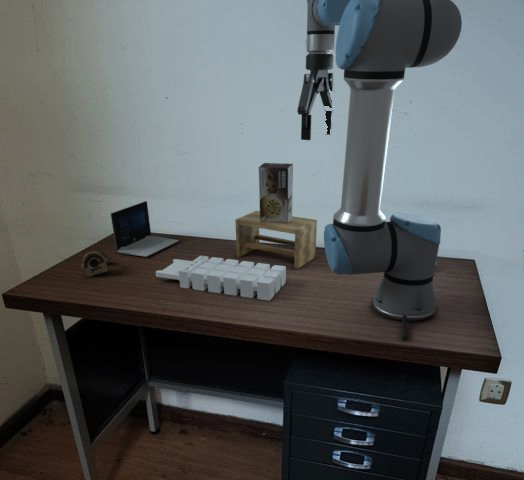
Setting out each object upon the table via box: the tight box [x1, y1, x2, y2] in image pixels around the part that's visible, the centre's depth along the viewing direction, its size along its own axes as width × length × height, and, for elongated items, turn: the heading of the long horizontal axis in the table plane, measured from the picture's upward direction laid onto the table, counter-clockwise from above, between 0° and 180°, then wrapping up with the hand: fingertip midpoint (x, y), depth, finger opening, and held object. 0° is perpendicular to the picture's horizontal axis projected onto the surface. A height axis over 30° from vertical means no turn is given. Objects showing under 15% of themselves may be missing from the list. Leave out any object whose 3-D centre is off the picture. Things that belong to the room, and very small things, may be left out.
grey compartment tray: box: [155, 255, 287, 301], centre depth 140 cm, size 13×5×35 cm
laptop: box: [110, 200, 180, 258], centre depth 165 cm, size 18×12×13 cm
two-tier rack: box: [234, 210, 318, 270], centre depth 156 cm, size 12×22×12 cm, turn 58°
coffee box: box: [258, 162, 294, 223], centre depth 149 cm, size 9×6×16 cm
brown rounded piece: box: [80, 250, 113, 277], centre depth 149 cm, size 7×13×10 cm
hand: (316, 137), depth 147 cm, fingers open, 13 cm apart
